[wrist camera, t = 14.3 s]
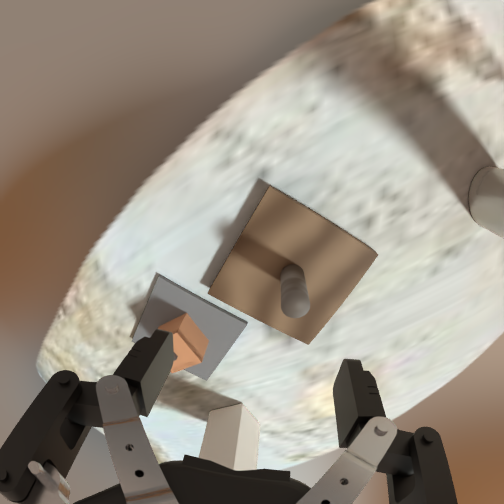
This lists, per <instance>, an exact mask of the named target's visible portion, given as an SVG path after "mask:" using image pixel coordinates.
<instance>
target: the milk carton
mask: <svg viewBox="0 0 504 504" xmlns="http://www.w3.org/2000/svg"><path fill="white" fill-rule="evenodd" d="M259 435H260V423H259V422H258V421H257V419H256V418H255V417H254V416H253V415H252V414H251V413H250V411H249V410H248V409H247V408H246V407H245V406H244V404H243V403H242V404H237V405H233V406H229V407H225V408H221V409H216V410H212V411H210V413H209V417H208V422H207V426H206V430H205V434H204V438H203V442H202V446H201V450H200V454H199V458H202V459H206V460H211V461H213V462H215V463H218V464H220V465H223V466H225V467H228V468H230V469H233V470H236V471H243V470H257V459H258V447H259Z"/></svg>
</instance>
